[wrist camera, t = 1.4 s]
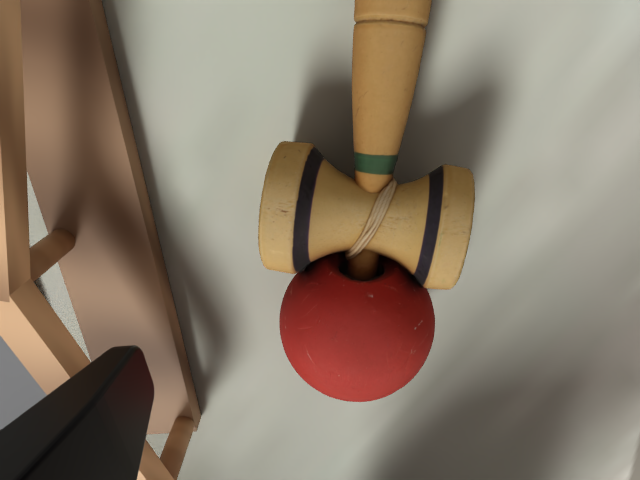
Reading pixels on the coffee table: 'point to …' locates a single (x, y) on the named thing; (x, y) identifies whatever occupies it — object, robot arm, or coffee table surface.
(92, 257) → the tan wooden frame
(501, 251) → the coffee table surface
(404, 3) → the kendama
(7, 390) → the mat
